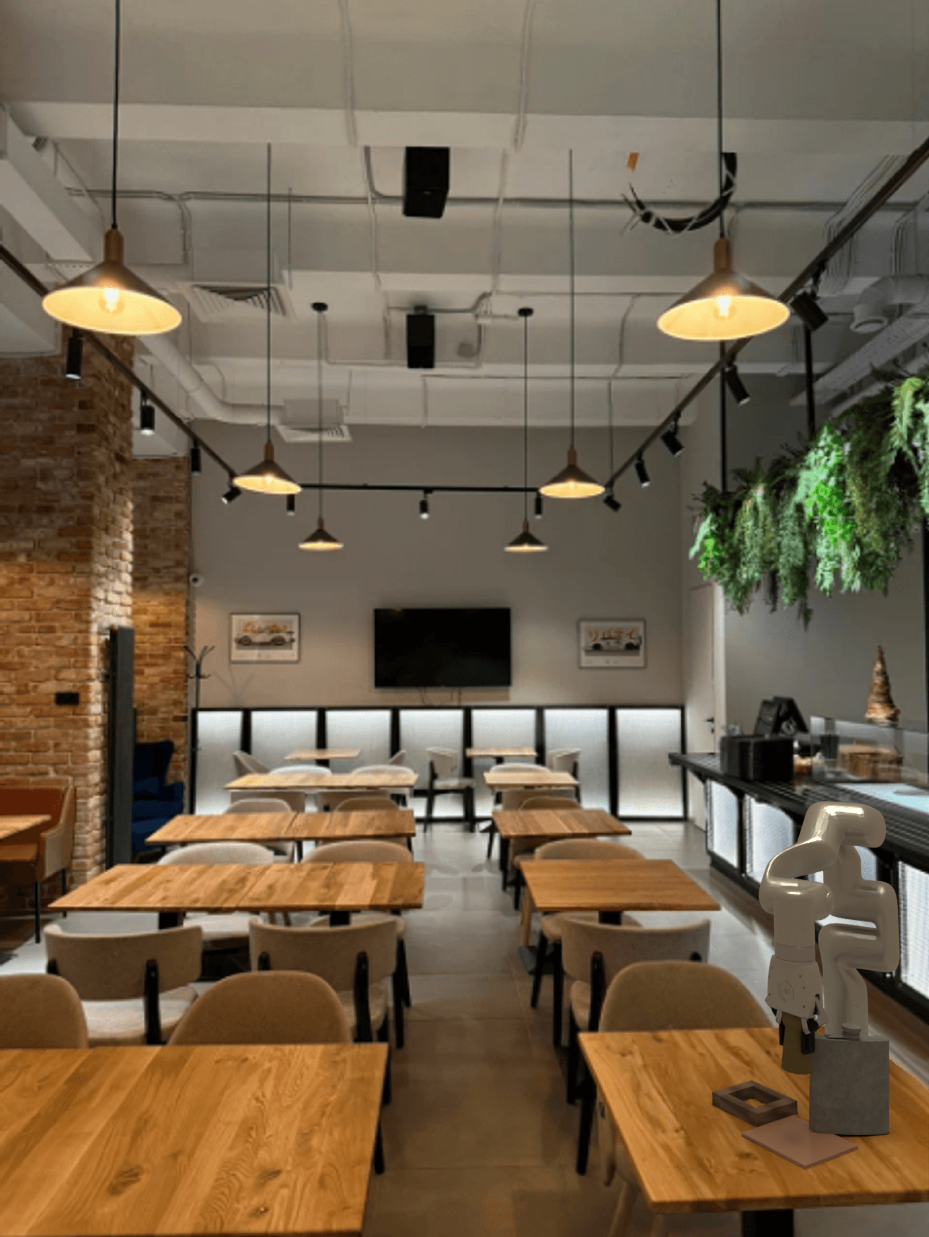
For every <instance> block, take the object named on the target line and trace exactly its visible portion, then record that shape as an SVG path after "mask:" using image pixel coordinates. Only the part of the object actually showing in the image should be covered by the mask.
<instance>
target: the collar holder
mask: <svg viewBox="0 0 929 1237" xmlns="http://www.w3.org/2000/svg"><path fill="white" fill-rule="evenodd" d="M751 1099H752V1100H753V1099H754V1100H756V1101H759V1102H760V1103H762V1104H763V1105H758V1106H754V1105H752V1104H749V1103H748V1102H746V1101H748V1100H751ZM711 1101H712V1102H711V1103H712V1104H711V1105H713V1106H714V1107H716V1108H718V1109H720V1110H722V1111H725V1112H727V1113H728V1114H730V1115H732V1116H733V1117H737V1118H738V1119H741V1120H742V1121H744V1122H746V1123H748V1124H751V1125H752V1126H754V1127H755V1128H757V1127H760V1126H763V1125H766V1124H769V1123H771V1122H774V1121H777V1120H780V1119H783V1118H786V1117H789V1116H792V1115H794V1116H796V1115H797V1114H798V1111H799V1110H798V1100H796V1099H794V1098H792V1097H791V1096H787V1095H785V1094H784V1093H781V1092H779V1091H777V1090H774V1089H772V1088H770V1087H768V1086H766V1085H763V1084H761V1083H759V1082H757V1081H755V1080H753V1079H752V1080H748V1081H744V1082H740V1083H738V1084H734V1085H732V1086H728V1087H725V1088H721V1089H718V1090H715V1091H711Z"/></svg>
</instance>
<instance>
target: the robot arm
mask: <svg viewBox="0 0 929 1237" xmlns="http://www.w3.org/2000/svg"><path fill="white" fill-rule="evenodd" d="M806 810H807V811H806V812H805V816H804V820H803V823H802V826H801V829H800V833H799V836H798V838H797V841H796V842H795V843H794V844H792V845H790V846H788V847H787V848H785V849H783V850H781V851H780V852H779V853H777V854H776V855H774V856H773V857H771V859H770V860H769V862H768V863H767V864H766V867H765V870H764V872H763V875H762V877H761V881H760V886H759V890H758V902H759V904H760V906H761V908H762V910H764V911H765V912H766V913H768V914H771V915H773V928H774V929H773V932H774V933H773V935H774V936H773V938H774V939H773V940H772V941H771V947H773V948H774V954H772V955H771V956H770V961H769V966H768V972H767V973H768V975H767V987H766V988H767V991H766V992H767V996H766V997H765V998H764V1001H765V1003H766V1005H767V1006H768V1008H770V1010H771V1012H772V1014H773V1016H774V1017H775V1022H776V1023H777V1024H778V1042H779V1046H782V1047H783V1043H784V1034H785V1025H784V1024H783V1021H782V1014H783V1012H785V1013H788V1014H791V1015H793V1016H796V1017H799V1018H801V1021H802V1026H803V1031H804V1032H802V1033H801V1053H802V1054H804V1055H807V1054H810V1053H814V1052H815V1034H816V1032H818V1031H819V1029H820V1028H822V1026H824V1034H842V1031H844V1030H842V1029H841V1025H842V1024H843V1023H850V1024H855V1025H858V1026H860V1027H861V1032H860V1033H859V1034H860V1036H870V1035H869V1010H868V1008H869V1006H868V1005H869V1004H868V1003H869V1002H868V1001H869V1000H868V988H867V984H866V981H865V980H864V978H863V977H862V975H861V974H860V972H859V971H858V970H857V969H862V970H869V971H873V972H874V971H875V972H881V973H891V972H894V971H896V970H897V968H898V966H899V964H900V931H899V930H900V929H899V911H898V910H899V908H898V898H897V893H896V891H895V889H894V887H893V886H892V885H891V884H890V883H887V882H885V881H882V880H881V881H880V880H874V879H873V880H871V879H864V878H863V875H862V859H861V855H860V854H859V852H858V850H857V849H856V847H861V848H862V847H863V848H864V847H865V848H879V847H881V846H882V844H883V843H884V841H885V838H886V836H887V825H886V821H885V817H884V816H883V814H882V813H881V812H880V811H879V810H878V809H876V808H874V807H872V806H870V805H868V804H865V803H859V802H858V803H856V802H844V801H827V800H826V801H818V802H814V803H813V804H811V805H810V806H809V807H808V809H806ZM820 872H822V882H821V881H816V880H806V879H805V880H804V879H799V878H798V877H802V876H807V875H813V874H816V873H820ZM829 916H831V917H834V918H838V919H844V920H850V921H857V922H863V923H864V922H866V923H872V924H873V925H874V926H875V927H873V926H872V927H871V926H865V925H858V924H851V923H842V922H831V923H826V924H825V925H824V926H822V927H821V928H820V930H819V933H818V940H817V941H818V949H819V954H820V960H821V965H822V966H821V967H822V974H823V975H822V976H823V978H821V972H820V968H819V963H818V962H817V961H816V933H815V932H816V931H815V930H816V929H815V926H816V925H815V922H819V921H823V920H826V919H827V918H829ZM822 979H823V986H822ZM816 1016H817V1018H816ZM808 1019H809V1020H810V1024H809V1022H808Z"/></svg>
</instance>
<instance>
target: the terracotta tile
mask: <svg viewBox="0 0 929 1237" xmlns="http://www.w3.org/2000/svg"><path fill="white" fill-rule="evenodd" d="M741 1137H743V1138H745V1139H747V1140H748V1141H750V1142H753V1143H755V1144H756V1145H758V1146H760V1147H762V1148H764V1149H766V1150H768V1151H770V1152H772V1153H774V1154H776V1155H777V1156H779V1157H781V1158H782V1159H785V1160H787V1161H789V1162H791V1163H793V1164H794V1165H796V1166H798V1167H800V1168H802V1169H804V1170H807V1168H808V1169H810V1168H812V1167H811V1166H813V1167H816V1166H818V1165H820V1164H823V1163H825V1162H824V1161H826V1162H828V1161H831V1160H833V1159H835V1157H836V1158H838V1157H837V1156H839V1157H841V1156H844V1155H847V1154H849V1153H852V1152H854V1151H856V1150H858V1149H859V1145H858V1144H855V1143H854V1142H851V1141H850V1140H847V1139H846V1138H843V1137H841V1136H839V1135H838V1134H830V1133H820V1132H815V1131H812V1130H811V1129H810V1128H809V1121H807V1120H804V1119H802V1118H801V1117H799V1116H796V1115H792V1116H789V1117H786V1118H783V1119H780V1120H777V1121H774V1122H771V1123H768V1124H765V1125H762V1126H759V1127H754V1128H752V1129H751V1128H750V1129H748V1130H745V1131H743V1132H741ZM830 1159H831V1160H830ZM827 1160H828V1161H827ZM822 1162H823V1163H822ZM819 1163H820V1164H819ZM817 1164H818V1165H817ZM809 1167H810V1168H809Z"/></svg>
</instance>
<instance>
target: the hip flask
mask: <svg viewBox="0 0 929 1237" xmlns="http://www.w3.org/2000/svg"><path fill="white" fill-rule="evenodd" d="M841 1029H842V1030H844V1031H842V1034H825V1033H824V1034H820V1033H815V1052H814V1053H811V1055H812V1062H813V1068H814V1072H813V1073H811V1074H808V1076H809V1085H808V1086H809V1088H808V1089H809V1090H808V1091H809V1092H808V1108H809V1109H808V1122H809V1128H810V1129H811V1130H812V1131H815V1132H820V1133H830V1134H835V1135H847V1136H848V1135H849V1136H850V1135H854V1136H860V1135H861V1136H865V1135H866V1136H871V1135H872V1136H873V1135H887V1134H889V1133H890V1039H889V1037H885V1036H882V1035H869V1036H860V1034H859V1033H860V1032H861V1027H860V1026H858V1025H855V1024H850V1023H843V1024H842V1025H841Z"/></svg>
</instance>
